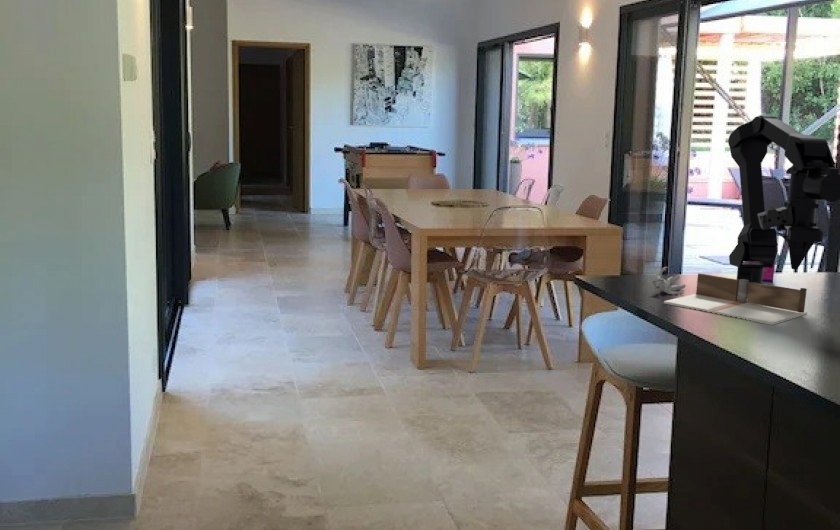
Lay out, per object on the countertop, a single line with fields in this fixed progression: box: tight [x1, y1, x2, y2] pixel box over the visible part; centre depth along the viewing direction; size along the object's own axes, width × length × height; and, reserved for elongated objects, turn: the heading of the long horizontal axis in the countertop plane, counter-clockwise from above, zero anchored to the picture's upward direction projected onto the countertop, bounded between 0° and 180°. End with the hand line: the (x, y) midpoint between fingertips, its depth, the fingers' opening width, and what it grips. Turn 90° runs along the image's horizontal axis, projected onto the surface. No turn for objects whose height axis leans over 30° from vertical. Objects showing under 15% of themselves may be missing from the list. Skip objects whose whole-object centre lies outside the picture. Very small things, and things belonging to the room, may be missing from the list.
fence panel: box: [747, 282, 808, 313], centre depth 187 cm, size 12×1×5 cm, turn 45°
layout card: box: [663, 293, 808, 326], centre depth 188 cm, size 17×24×1 cm
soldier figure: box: [651, 266, 687, 296], centre depth 203 cm, size 8×5×12 cm
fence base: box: [695, 272, 749, 303], centre depth 196 cm, size 2×12×5 cm, turn 45°
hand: (794, 269), depth 189 cm, fingers closed
